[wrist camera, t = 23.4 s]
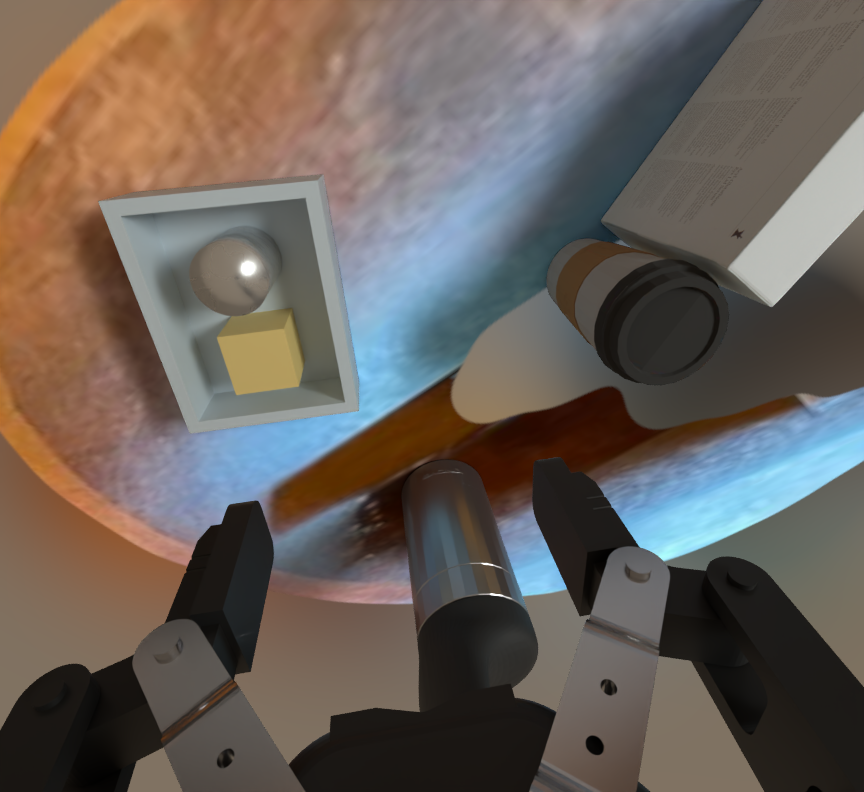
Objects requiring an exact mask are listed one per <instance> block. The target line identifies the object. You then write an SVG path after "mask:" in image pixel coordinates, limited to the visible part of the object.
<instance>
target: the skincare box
mask: <svg viewBox="0 0 864 792" xmlns="http://www.w3.org/2000/svg"><path fill="white" fill-rule="evenodd" d="M863 210H864V0H763V1H762V2H761V4H760V5H759V6H758V8H757V9H756V11H755V12H754V13H753V15H752V16H751V17H750V19H749V20H748V21H747V23H746V24H745V25H744V27H743V28H742V29H741V31H740V32H739V33H738V35H737V36H736V37H735V39H734V40H733V41H732V43H731V44H730V46H729V47H728V48H727V50H726V51H725V53H724V54H723V55H722V57H721V58H720V59H719V61H718V62H717V63H716V65H715V66H714V67H713V69H712V70H711V71H710V73H709V74H708V75H707V77H706V78H705V79H704V81H703V82H702V83H701V85H700V86H699V87H698V89H697V90H696V92H695V93H694V94H693V96H692V97H691V98H690V100H689V101H688V102H687V104H686V105H685V106H684V108H683V109H682V110H681V112H680V113H679V115H678V116H677V117H676V119H675V120H674V121H673V123H672V124H671V125H670V127H669V128H668V129H667V131H666V132H665V134H664V135H663V136H662V138H661V139H660V140H659V142H658V143H657V144H656V146H655V147H654V148H653V150H652V151H651V153H650V154H649V155H648V157H647V158H646V159H645V161H644V162H643V163H642V165H641V166H640V167H639V169H638V170H637V172H636V173H635V174H634V176H633V177H632V178H631V180H630V181H629V182H628V184H627V185H626V187H625V188H624V189H623V191H622V192H621V193H620V195H619V196H618V197H617V199H616V200H615V201H614V203H613V204H612V206H611V207H610V208H609V210H608V211H607V212H606V214H605V215H604V216H603V218H602V219H601V223H602V224H603V225H604V226H606V227H607V228H608V229H609V230H610V231H611V232H612V233H614V234H615V235H616V236H617V237H618V238H620V239H621V240H622V241H623V242H625V243H626V244H627V245H629V246H630V247H632V248H633V249H637V250H641V251H644V252H648V253H652V254H654V255H656V256H659V257H661V258H665V259H676V260H684V261H686V262H689V263H691V264H693V265H695V266H697V267H698V268H699V269H701V270H703V271H705V272H707V273H708V274H709V275H710V276H711V277H712V278H713V279H714V280H715V281H716V282H717V285H720V286H722V287H725V288H727V289H729V290H732V291H734V292H737V293H739V294H741V295H744V296H746V297H749V298H751V299H753V300H755V301H758V302H760V303H762V304H765V305H768V306H770V307H772V306H774V305H775V304H776V303H777V302H778V301H779V300H780V299H781V297H782V296H783V295H784V294H785V293H786V292H787V291H788V290H789V289H790V288H791V287H792V286H793V284H794V283H795V282H796V281H797V280H798V279H799V278H800V277H801V276H802V275H803V274H804V273H805V272H806V271H807V270H808V268H809V267H810V266H811V265H812V264H813V263H814V262H815V261H816V260H817V259H818V258H819V257H820V255H822V253H823V252H824V251H825V250H826V249H827V248H828V247H829V246H830V245H831V244H832V243H833V242H834V241H835V240H836V238H838V236H839V235H840V234H841V233H842V232H843V231H844V230H845V229H846V228H847V227H848V226H849V225H850V224H851V223H852V222H853V221H854V219H855V218H856V217H857V216H858V215H859V214H860V213H861V212H862V211H863Z"/></svg>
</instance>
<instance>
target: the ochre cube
mask: <svg viewBox="0 0 864 792" xmlns="http://www.w3.org/2000/svg"><path fill="white" fill-rule="evenodd" d="M217 340H218V343H219V346H220V349H221V352H222V354H223V357H224V360H225V363H226V366H227V369H228V372H229V375H230V378H231V381H232V384H233V387H234V390H235V393H236V395H241V394H249V393H256V392H263V391H270V390H277V389H285V388H292V387H299V384H300V380H301V376H302V372H303V368H304V364H305V358H304V354H303V350H302V346H301V342H300V338H299V334H298V329H297V325H296V321H295V317H294V313H293V309H292V308H287V309H279V310H271V311H263V312H255V313H250V314H247V315H243V316H232V317H231V318H230V319H229V321H228V322H227V324H226V325H225V327H224V328H223V329H222V331H221V332H220V334H219V335H218V336H217Z"/></svg>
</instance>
